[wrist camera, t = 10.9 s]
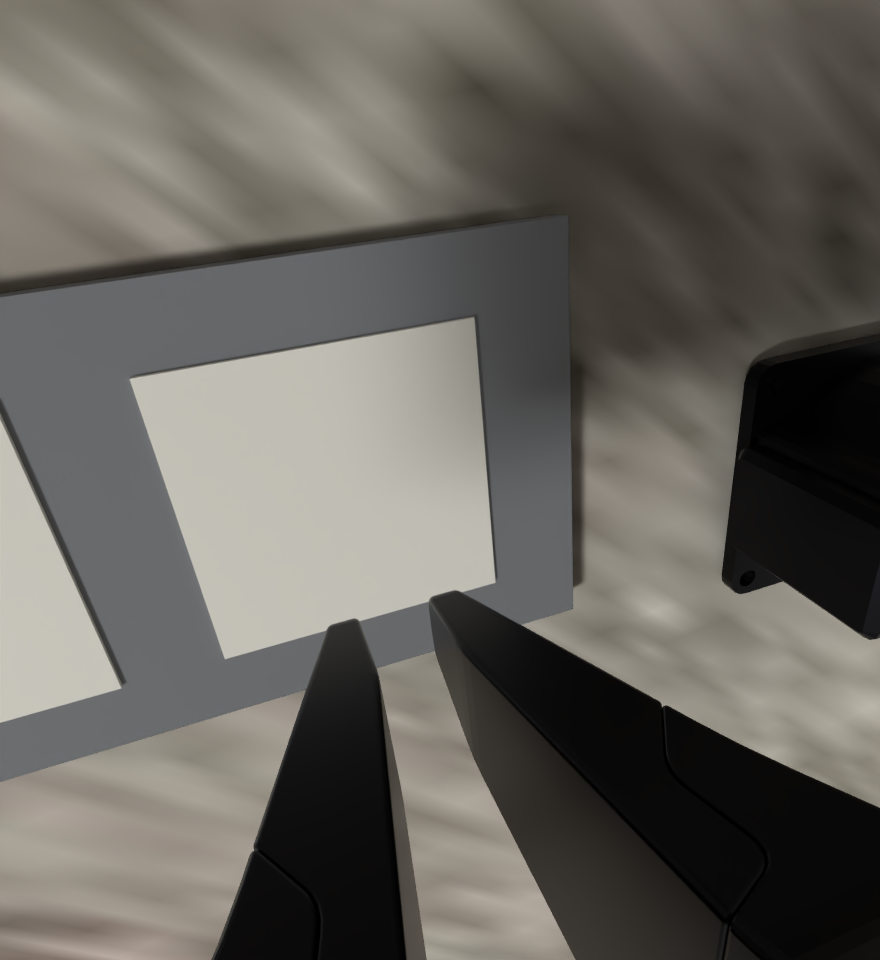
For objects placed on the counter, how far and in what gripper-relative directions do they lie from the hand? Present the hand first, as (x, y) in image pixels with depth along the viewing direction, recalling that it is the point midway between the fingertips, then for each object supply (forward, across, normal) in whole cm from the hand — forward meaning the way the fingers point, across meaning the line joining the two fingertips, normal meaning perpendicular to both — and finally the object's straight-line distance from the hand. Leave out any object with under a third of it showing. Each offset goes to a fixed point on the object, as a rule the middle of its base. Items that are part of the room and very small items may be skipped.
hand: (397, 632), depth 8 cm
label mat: (+5, +4, 0) cm, 6 cm away
